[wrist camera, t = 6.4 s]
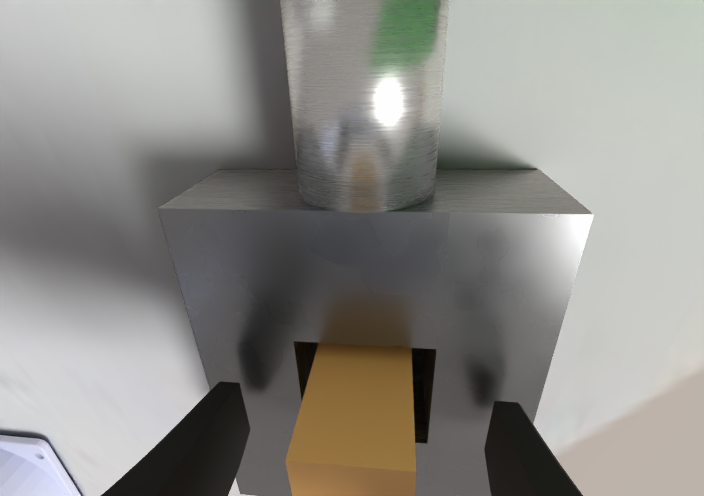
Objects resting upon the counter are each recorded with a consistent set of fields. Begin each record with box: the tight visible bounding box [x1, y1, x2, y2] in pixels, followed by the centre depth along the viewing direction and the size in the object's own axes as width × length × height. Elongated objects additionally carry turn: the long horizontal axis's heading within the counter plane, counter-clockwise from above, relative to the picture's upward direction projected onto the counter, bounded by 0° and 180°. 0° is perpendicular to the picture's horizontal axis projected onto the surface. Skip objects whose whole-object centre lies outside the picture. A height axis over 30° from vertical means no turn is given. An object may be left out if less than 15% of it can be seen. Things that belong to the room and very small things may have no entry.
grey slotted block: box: [157, 0, 594, 496], centre depth 12 cm, size 17×11×4 cm, turn 2°
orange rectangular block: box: [285, 343, 416, 496], centre depth 11 cm, size 3×3×6 cm
